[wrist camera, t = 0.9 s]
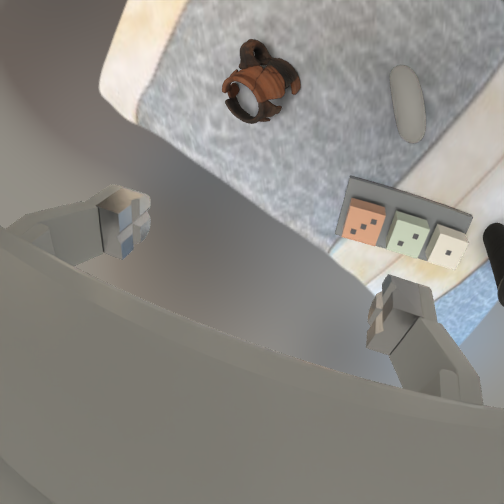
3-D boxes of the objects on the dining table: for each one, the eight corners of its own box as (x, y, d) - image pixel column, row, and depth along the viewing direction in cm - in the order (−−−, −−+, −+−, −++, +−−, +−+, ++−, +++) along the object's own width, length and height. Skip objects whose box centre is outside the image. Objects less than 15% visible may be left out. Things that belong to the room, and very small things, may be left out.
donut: (384, 65, 34) (391, 65, 26) (408, 64, 32) (421, 64, 25) (395, 134, 39) (403, 153, 31) (418, 133, 37) (432, 152, 30)
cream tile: (425, 251, 44) (427, 262, 42) (437, 223, 41) (440, 233, 39) (451, 260, 43) (455, 270, 41) (464, 233, 40) (469, 243, 38)
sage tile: (385, 239, 46) (386, 249, 44) (396, 210, 43) (397, 219, 40) (415, 248, 45) (417, 259, 42) (427, 220, 42) (430, 230, 39)
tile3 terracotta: (343, 227, 47) (341, 237, 45) (351, 197, 44) (350, 206, 42) (374, 236, 46) (375, 246, 44) (384, 207, 43) (385, 216, 41)
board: (335, 231, 51) (333, 239, 49) (350, 175, 45) (349, 181, 43) (447, 264, 46) (450, 273, 45) (471, 214, 40) (475, 222, 38)
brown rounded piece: (311, 107, 41) (276, 132, 38) (262, 103, 47) (227, 126, 44) (291, 29, 33) (249, 45, 30) (240, 36, 39) (199, 54, 36)
